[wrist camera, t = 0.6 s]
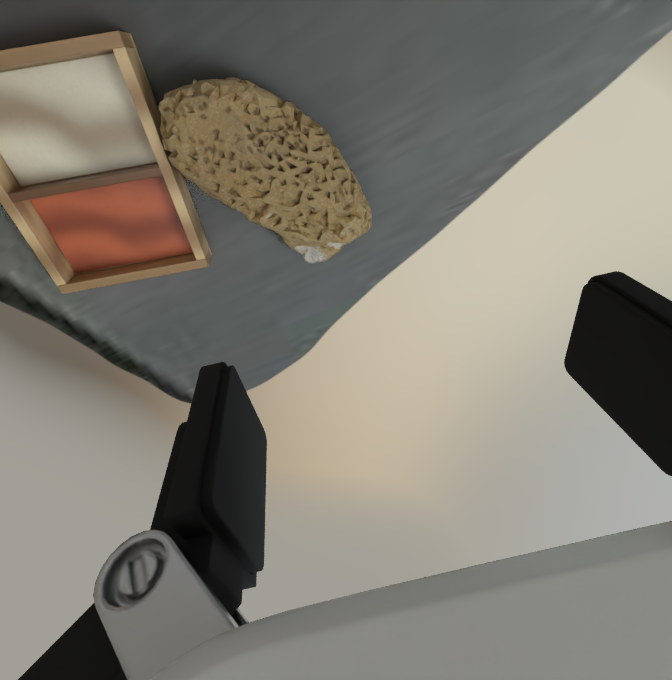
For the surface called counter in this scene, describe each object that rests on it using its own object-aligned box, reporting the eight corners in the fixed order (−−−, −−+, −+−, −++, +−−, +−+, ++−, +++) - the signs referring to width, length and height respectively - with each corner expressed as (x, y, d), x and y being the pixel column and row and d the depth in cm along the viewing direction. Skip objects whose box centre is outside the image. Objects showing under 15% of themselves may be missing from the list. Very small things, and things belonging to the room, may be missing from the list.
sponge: (374, 192, 42) (250, -1, 28) (386, 234, 37) (245, 27, 24) (285, 249, 47) (143, 109, 33) (285, 293, 42) (120, 150, 29)
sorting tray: (-63, 66, 30) (-93, 66, 28) (131, 33, 31) (118, 30, 28) (74, 281, 42) (62, 294, 40) (212, 255, 43) (208, 267, 40)
